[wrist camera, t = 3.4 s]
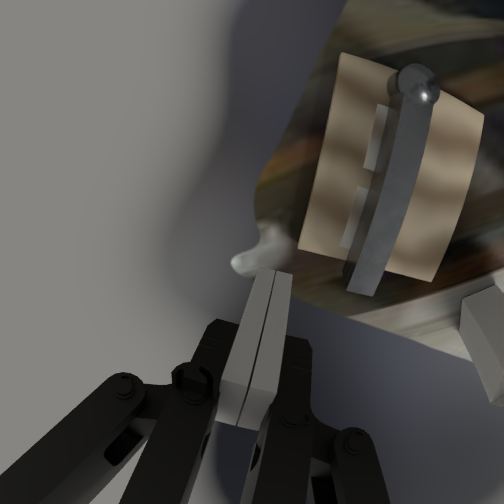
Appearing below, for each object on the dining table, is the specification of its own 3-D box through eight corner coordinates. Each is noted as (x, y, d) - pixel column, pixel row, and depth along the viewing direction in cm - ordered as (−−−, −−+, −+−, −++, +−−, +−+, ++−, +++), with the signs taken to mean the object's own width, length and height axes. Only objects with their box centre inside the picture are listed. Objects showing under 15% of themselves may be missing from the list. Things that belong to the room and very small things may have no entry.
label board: (339, 55, 21) (341, 51, 20) (477, 115, 20) (485, 115, 18) (298, 243, 31) (297, 249, 30) (427, 276, 30) (432, 283, 28)
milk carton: (490, 317, 30) (536, 402, 13) (458, 332, 32) (497, 426, 16) (495, 283, 28) (556, 370, 11) (461, 298, 30) (515, 398, 13)
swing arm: (389, 66, 19) (403, 56, 15) (423, 80, 19) (442, 74, 15) (337, 267, 30) (341, 289, 26) (369, 275, 30) (376, 297, 26)
